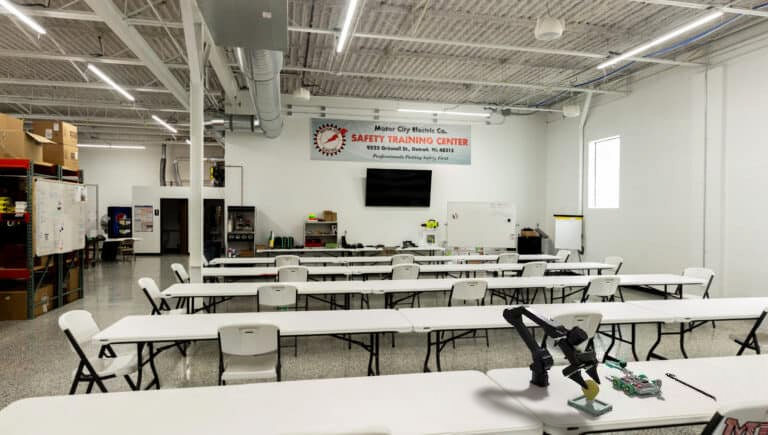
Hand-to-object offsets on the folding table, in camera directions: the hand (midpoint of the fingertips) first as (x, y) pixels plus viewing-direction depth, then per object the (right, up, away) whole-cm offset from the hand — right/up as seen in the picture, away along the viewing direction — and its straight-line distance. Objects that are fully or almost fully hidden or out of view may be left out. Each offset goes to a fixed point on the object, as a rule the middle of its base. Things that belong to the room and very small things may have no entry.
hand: (593, 386), depth 166 cm
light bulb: (-1, -8, +1) cm, 8 cm away
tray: (-1, -9, +1) cm, 9 cm away
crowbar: (+57, -10, +23) cm, 63 cm away
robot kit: (+28, -9, +24) cm, 38 cm away
